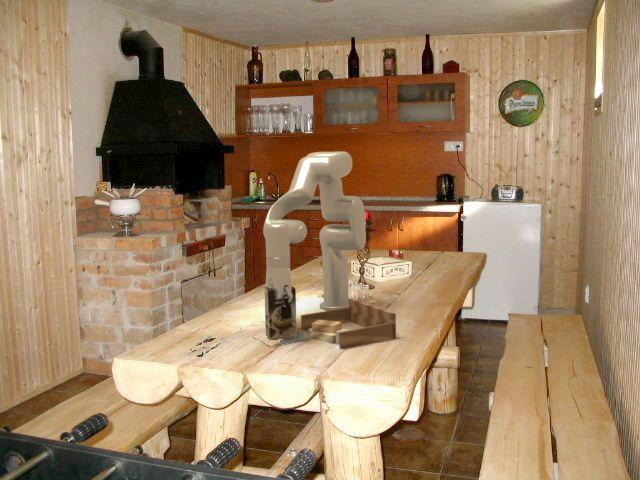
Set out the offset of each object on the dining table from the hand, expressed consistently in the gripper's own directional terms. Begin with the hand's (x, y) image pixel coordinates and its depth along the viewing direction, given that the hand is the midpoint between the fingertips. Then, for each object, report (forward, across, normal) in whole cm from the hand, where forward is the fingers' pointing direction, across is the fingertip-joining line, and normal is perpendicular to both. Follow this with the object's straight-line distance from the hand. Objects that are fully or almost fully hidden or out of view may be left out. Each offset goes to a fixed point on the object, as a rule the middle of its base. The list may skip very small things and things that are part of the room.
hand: (280, 315), depth 208 cm
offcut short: (+5, +8, +12) cm, 16 cm away
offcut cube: (+8, +17, +14) cm, 23 cm away
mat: (+7, 0, 0) cm, 7 cm away
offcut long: (+8, +8, +12) cm, 17 cm away
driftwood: (+8, -6, -23) cm, 25 cm away
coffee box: (+7, 0, 0) cm, 7 cm away
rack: (+7, +8, +20) cm, 23 cm away
